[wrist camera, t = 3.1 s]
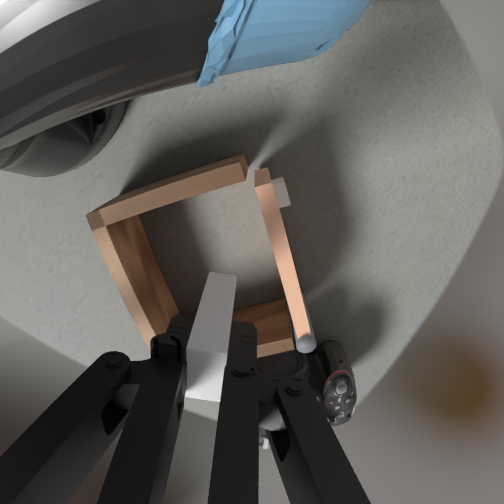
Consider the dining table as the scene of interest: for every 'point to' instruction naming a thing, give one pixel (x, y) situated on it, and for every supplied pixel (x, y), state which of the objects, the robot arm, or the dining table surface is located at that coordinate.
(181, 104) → the dining table surface
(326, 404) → the camera
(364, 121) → the dining table surface
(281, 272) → the hatch
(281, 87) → the dining table surface
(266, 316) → the frame
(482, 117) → the dining table surface
